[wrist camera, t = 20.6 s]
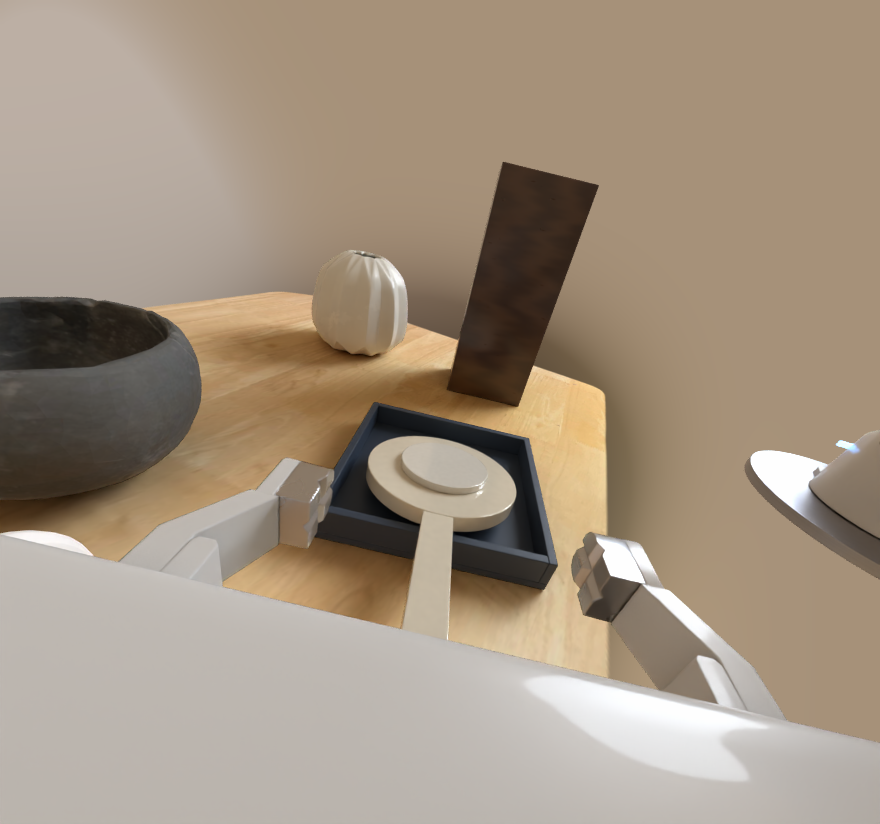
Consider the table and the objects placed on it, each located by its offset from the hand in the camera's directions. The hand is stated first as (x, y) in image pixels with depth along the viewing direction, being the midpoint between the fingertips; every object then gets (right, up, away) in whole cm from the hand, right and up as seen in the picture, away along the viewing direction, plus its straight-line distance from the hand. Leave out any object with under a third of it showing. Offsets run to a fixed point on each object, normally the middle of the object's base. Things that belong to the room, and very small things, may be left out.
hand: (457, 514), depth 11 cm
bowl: (-26, -1, +14) cm, 29 cm away
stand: (+6, +7, +40) cm, 41 cm away
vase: (-13, +13, +44) cm, 47 cm away
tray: (-1, -3, +19) cm, 19 cm away
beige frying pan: (-1, -4, +13) cm, 13 cm away
